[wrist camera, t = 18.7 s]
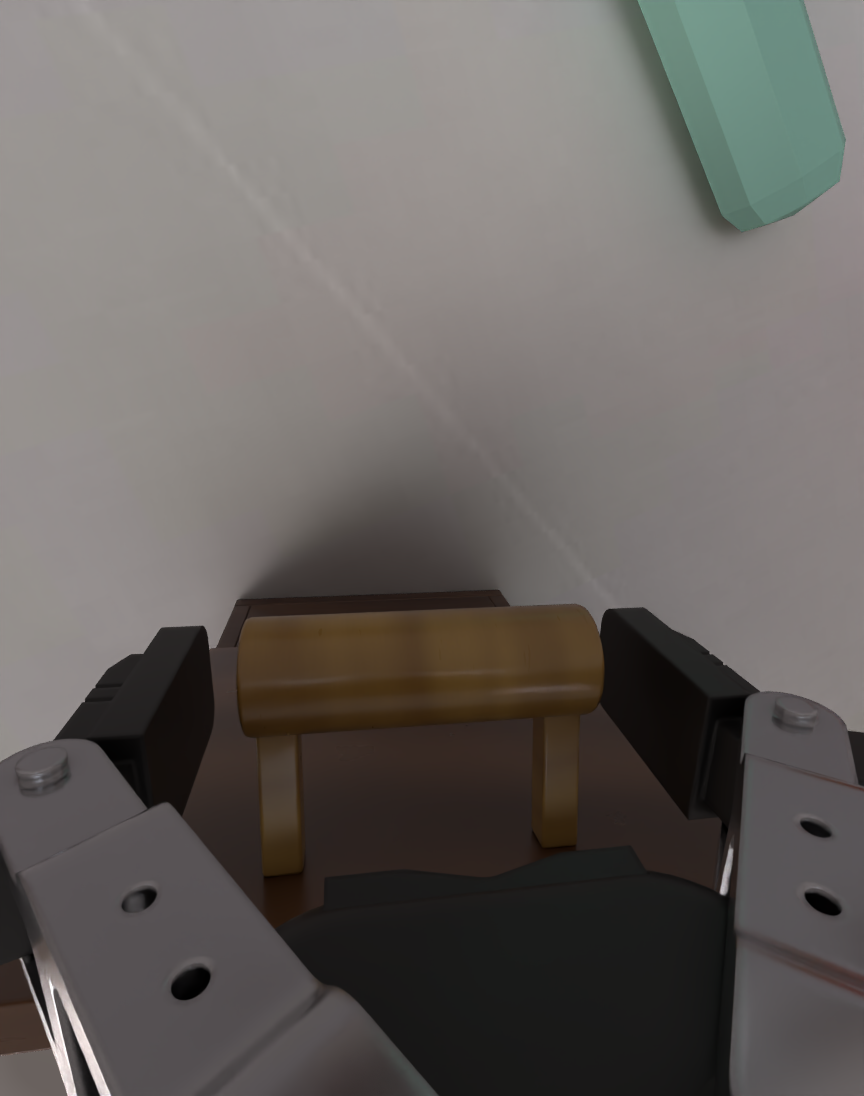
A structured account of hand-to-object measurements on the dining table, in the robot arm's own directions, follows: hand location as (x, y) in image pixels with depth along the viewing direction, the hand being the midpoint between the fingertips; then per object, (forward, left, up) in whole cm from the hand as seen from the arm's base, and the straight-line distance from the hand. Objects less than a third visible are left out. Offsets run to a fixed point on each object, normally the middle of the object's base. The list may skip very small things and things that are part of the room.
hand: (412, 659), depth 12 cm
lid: (-4, +2, -4) cm, 6 cm away
